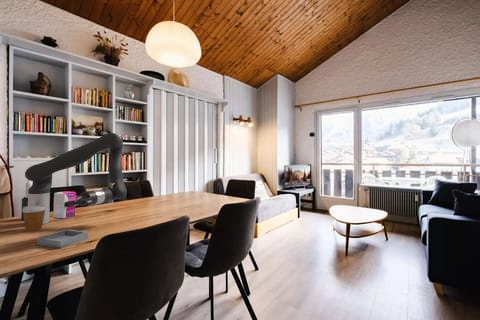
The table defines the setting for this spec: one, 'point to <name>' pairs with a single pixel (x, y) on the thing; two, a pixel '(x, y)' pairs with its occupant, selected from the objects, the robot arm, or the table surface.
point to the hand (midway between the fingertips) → (59, 204)
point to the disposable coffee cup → (33, 217)
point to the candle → (25, 198)
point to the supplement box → (59, 207)
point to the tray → (62, 238)
